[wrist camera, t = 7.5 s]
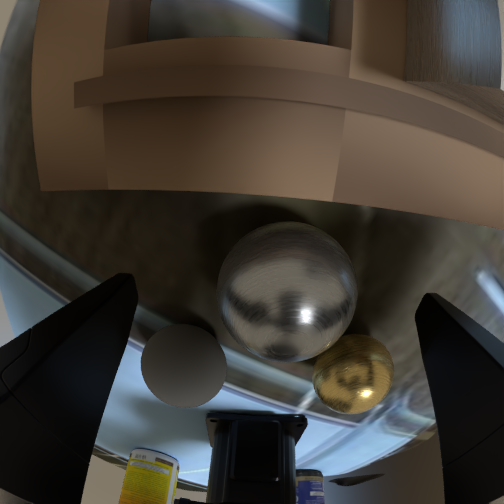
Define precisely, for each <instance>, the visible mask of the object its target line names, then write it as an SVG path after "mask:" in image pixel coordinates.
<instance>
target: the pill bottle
mask: <svg viewBox="0 0 504 504" xmlns="http://www.w3.org/2000/svg"><path fill="white" fill-rule="evenodd" d="M319 503H324V486H323V475H322V473H321V472H319V471H312V470H296V504H319Z"/></svg>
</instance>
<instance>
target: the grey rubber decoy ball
mask: <svg viewBox="0 0 504 504" xmlns="http://www.w3.org/2000/svg"><path fill="white" fill-rule="evenodd" d="M141 371H142V375H143V378H144V381H145V383H146V385H147V386H148V388H149V389H150V391H151V392H152V393H153V394H154V395H155V396H156V397H157V398H159V399H160V400H161V401H163V402H165V403H167V404H169V405H172V406H176V407H182V408H190V407H196V406H199V405H202V404H205V403H206V402H208V401H210V400H211V399H212V398H213V397H215V396H216V395H217V393H218V392H219V391H220V389H221V388H222V386H223V384H224V381H225V378H226V373H227V364H226V358H225V354H224V351H223V349H222V348H221V346H220V344H219V343H218V341H217V340H216V339H215V338H214V337H213V336H212V335H211V334H210V333H208V332H207V331H205V330H204V329H202V328H199V327H197V326H194V325H189V324H175V325H170V326H167V327H165V328H162V329H161V330H159V331H157V332H156V333H155V334H154V335H153V336H152V337H151V338H150V339H149V340H148V342H147V343H146V345H145V347H144V349H143V352H142V357H141Z"/></svg>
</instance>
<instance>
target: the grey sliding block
mask: <svg viewBox="0 0 504 504" xmlns="http://www.w3.org/2000/svg"><path fill="white" fill-rule="evenodd" d="M404 82H407V83H410V84H413V85H416V86H419V87H422V88H425V89H428V90H430V91H433V92H436V93H438V94H441V95H443V96H446V97H448V98H451V99H453V100H455V101H458V102H460V103H462V104H464V105H467V106H469V107H471V108H473V109H475V110H477V111H479V112H481V113H483V114H485V115H487V116H489V117H491V118H493V119H495V120H497V121H498V122H500V123H502V124H504V0H407V45H406V63H405V75H404Z"/></svg>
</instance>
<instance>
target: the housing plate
mask: <svg viewBox="0 0 504 504" xmlns="http://www.w3.org/2000/svg"><path fill="white" fill-rule="evenodd" d="M150 4H151V0H40V2H39V7H38V13H37V19H36V26H35V34H34V44H33V56H32V76H31V103H32V124H33V137H34V147H35V156H36V163H37V170H38V176H39V182H40V188H41V192H44V191H68V190H175V191H202V192H222V193H239V194H254V195H267V196H279V197H291V198H301V199H311V200H321V201H330V202H339V203H347V204H356V205H363V206H371V207H378V208H385V209H392V210H399V211H405V212H412V213H418V214H424V215H430V216H436V217H441V218H447V219H452V220H458V221H463V222H468V223H473V224H478V225H483V226H487V227H492V228H497V229H501V230H504V124H502V123H500V122H498V121H497V120H495V119H493V118H491V117H489V116H487V115H485V114H483V113H481V112H479V111H477V110H475V109H473V108H471V107H469V106H467V105H464V104H462V103H460V102H458V101H455V100H453V99H451V98H448V97H446V96H443V95H441V94H438V93H436V92H433V91H430V90H428V89H425V88H422V87H419V86H416V85H413V84H410V83H407V82H404V75H405V63H406V45H407V0H330V10H329V30H328V45H322V44H316V43H310V42H303V41H295V40H286V39H275V38H261V37H231V36H223V37H193V38H180V39H169V40H160V41H152V42H147V34H148V23H149V13H150Z"/></svg>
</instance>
